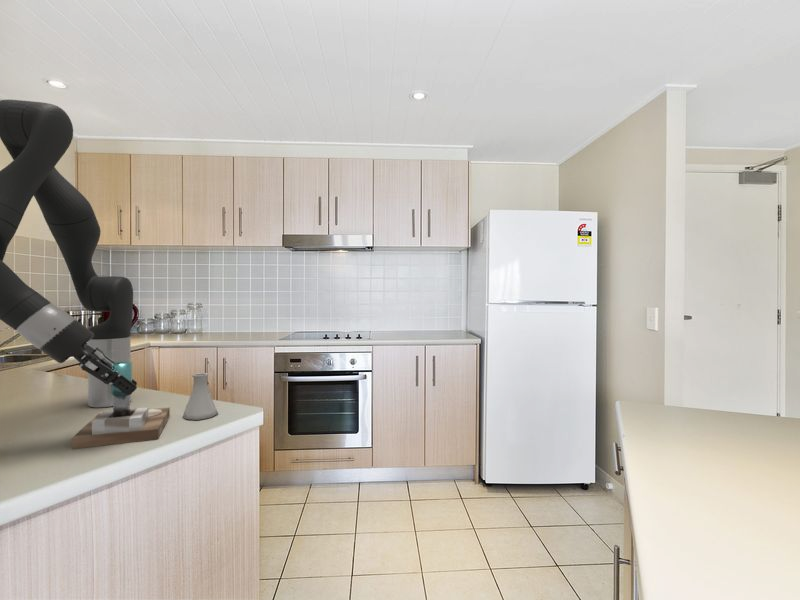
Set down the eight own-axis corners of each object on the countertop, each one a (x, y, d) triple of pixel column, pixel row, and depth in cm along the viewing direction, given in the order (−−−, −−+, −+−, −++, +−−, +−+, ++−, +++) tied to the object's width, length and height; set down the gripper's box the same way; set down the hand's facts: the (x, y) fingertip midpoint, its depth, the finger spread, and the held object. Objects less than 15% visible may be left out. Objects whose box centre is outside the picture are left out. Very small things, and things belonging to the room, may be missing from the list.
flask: (224, 414, 100) (223, 372, 100) (198, 422, 94) (197, 378, 94) (202, 410, 103) (202, 370, 103) (176, 418, 97) (175, 375, 97)
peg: (113, 413, 86) (112, 362, 85) (133, 411, 87) (133, 361, 87) (108, 418, 82) (108, 365, 82) (130, 416, 84) (129, 364, 83)
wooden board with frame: (98, 422, 93) (98, 402, 93) (169, 415, 99) (169, 396, 99) (71, 448, 78) (71, 424, 78) (158, 439, 83) (158, 416, 83)
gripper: (68, 320, 74) (149, 381, 81) (78, 316, 86) (148, 369, 93) (29, 352, 71) (116, 413, 78) (45, 343, 83) (119, 396, 90)
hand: (133, 389), depth 85 cm, fingers closed on peg, 3 cm apart
